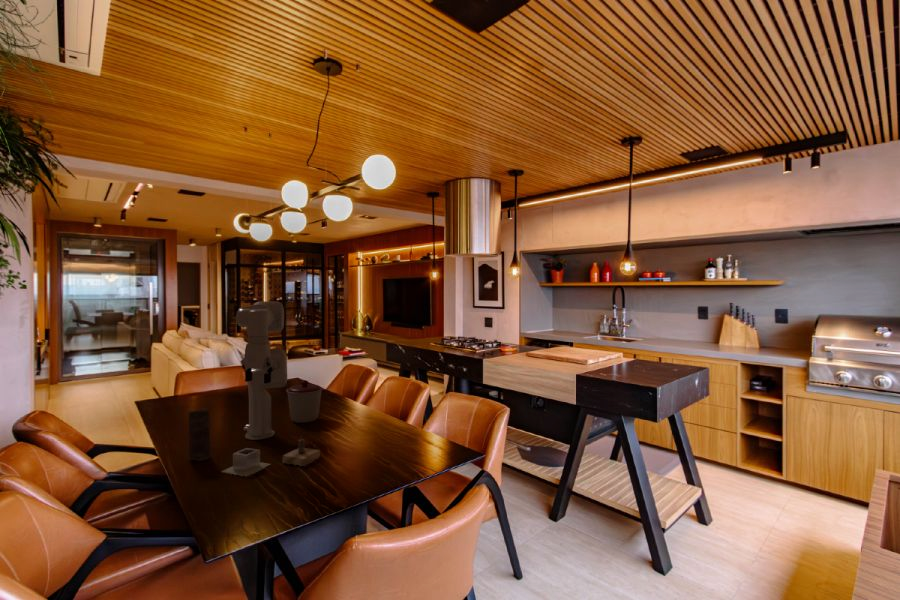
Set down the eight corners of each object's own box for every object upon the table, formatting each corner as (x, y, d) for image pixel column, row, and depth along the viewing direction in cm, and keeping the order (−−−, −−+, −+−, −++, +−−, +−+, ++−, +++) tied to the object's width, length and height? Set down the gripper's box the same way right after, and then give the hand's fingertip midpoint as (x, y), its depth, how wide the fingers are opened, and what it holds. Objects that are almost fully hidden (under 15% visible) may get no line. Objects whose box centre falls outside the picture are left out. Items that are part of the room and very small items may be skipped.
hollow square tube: (232, 469, 161) (232, 453, 161) (246, 463, 167) (246, 447, 167) (246, 472, 159) (246, 455, 159) (260, 465, 165) (260, 449, 165)
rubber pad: (221, 472, 159) (221, 471, 159) (246, 460, 171) (246, 459, 171) (246, 477, 155) (246, 476, 155) (270, 465, 167) (270, 463, 167)
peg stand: (282, 463, 168) (282, 442, 168) (299, 454, 178) (299, 435, 178) (303, 466, 165) (303, 445, 165) (320, 457, 174) (320, 437, 174)
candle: (187, 463, 167) (187, 412, 167) (189, 457, 174) (189, 408, 174) (210, 460, 171) (210, 410, 171) (210, 454, 177) (210, 406, 177)
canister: (308, 413, 239) (308, 375, 239) (329, 419, 229) (329, 379, 228) (279, 421, 224) (279, 381, 224) (300, 427, 214) (300, 385, 214)
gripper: (234, 340, 175) (234, 382, 175) (268, 342, 169) (268, 385, 169) (248, 338, 182) (248, 378, 182) (281, 340, 176) (281, 381, 177)
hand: (258, 382), depth 176 cm, fingers open, 9 cm apart
